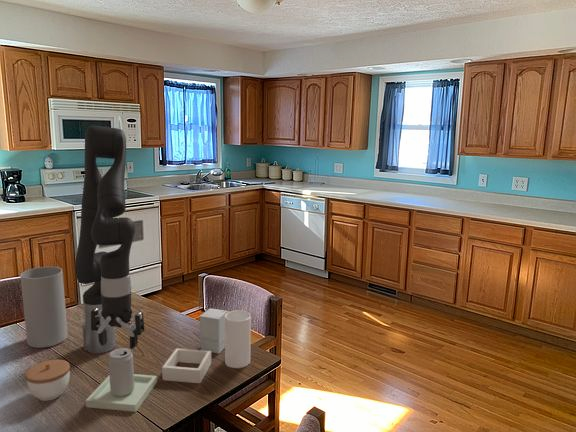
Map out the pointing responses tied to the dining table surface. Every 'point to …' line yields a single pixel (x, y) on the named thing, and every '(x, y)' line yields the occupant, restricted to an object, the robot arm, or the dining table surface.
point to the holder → (183, 372)
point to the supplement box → (212, 330)
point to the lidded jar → (48, 379)
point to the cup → (237, 338)
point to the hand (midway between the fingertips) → (118, 345)
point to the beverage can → (121, 372)
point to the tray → (125, 403)
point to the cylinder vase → (44, 306)
